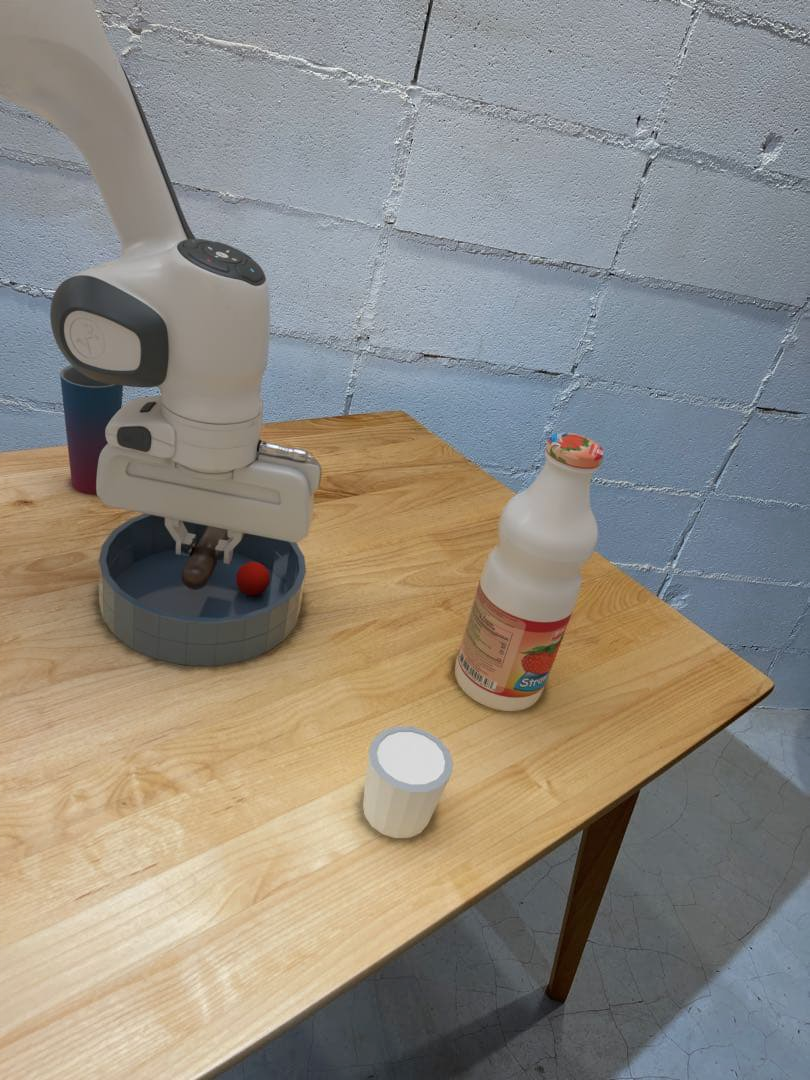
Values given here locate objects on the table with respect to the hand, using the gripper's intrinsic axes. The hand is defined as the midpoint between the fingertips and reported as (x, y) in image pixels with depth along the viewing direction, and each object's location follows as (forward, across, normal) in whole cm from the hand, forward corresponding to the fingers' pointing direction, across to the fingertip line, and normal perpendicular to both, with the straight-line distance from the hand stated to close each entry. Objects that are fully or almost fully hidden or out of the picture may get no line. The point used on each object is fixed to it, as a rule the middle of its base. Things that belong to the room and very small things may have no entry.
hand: (204, 556), depth 81 cm
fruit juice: (+8, -32, +2) cm, 33 cm away
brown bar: (+2, 0, -2) cm, 3 cm away
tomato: (+5, -4, -5) cm, 8 cm away
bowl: (+7, 0, -2) cm, 8 cm away
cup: (+8, +19, -20) cm, 29 cm away
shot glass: (+8, -23, +20) cm, 31 cm away
